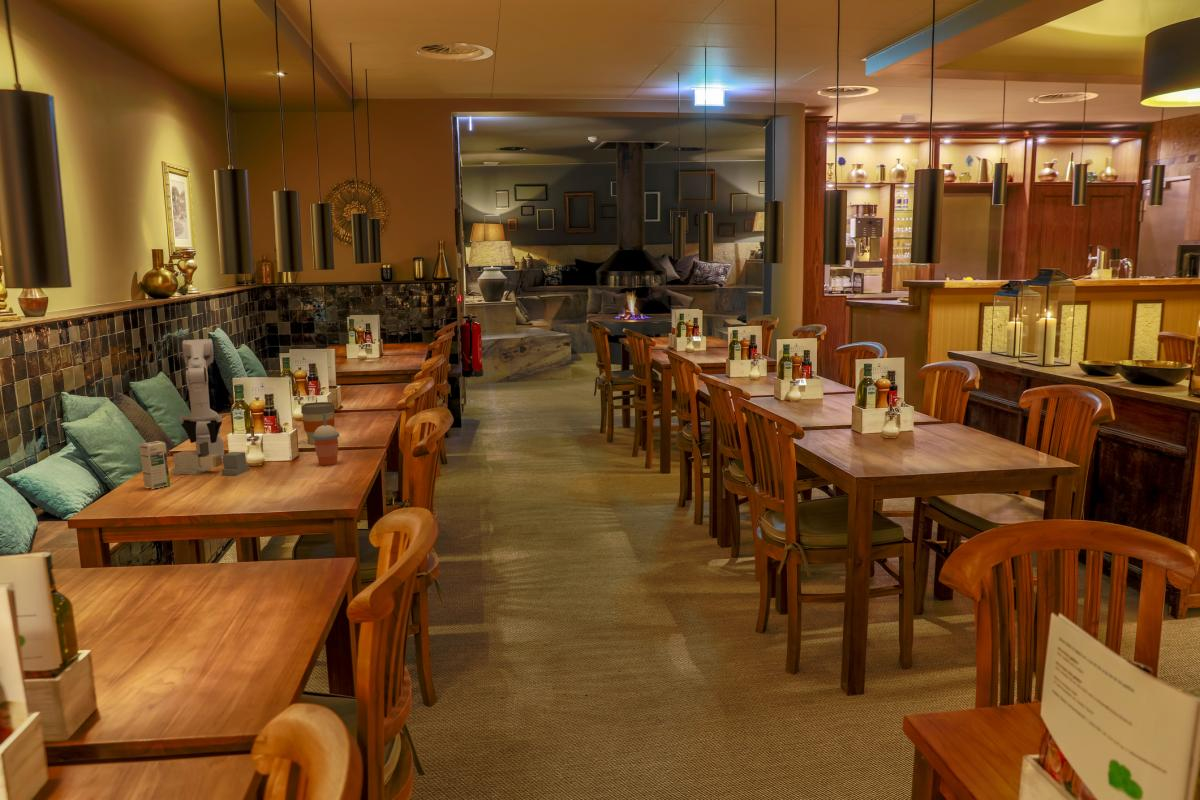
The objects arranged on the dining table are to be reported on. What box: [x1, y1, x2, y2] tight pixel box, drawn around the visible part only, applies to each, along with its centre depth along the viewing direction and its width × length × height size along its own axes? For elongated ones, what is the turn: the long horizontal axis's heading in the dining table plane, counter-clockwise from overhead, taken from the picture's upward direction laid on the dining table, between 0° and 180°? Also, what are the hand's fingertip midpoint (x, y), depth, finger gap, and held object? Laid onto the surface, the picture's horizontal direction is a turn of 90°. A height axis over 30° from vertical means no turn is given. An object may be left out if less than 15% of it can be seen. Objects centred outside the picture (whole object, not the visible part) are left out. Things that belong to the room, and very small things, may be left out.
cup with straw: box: [312, 413, 340, 467], centre depth 307 cm, size 9×9×18 cm
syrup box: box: [139, 440, 171, 489], centre depth 280 cm, size 6×6×14 cm
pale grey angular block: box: [199, 442, 223, 468], centre depth 299 cm, size 14×4×8 cm, turn 80°
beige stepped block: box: [171, 450, 212, 476], centre depth 300 cm, size 9×8×7 cm
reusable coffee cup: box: [300, 401, 336, 445], centre depth 344 cm, size 13×13×15 cm
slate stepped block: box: [221, 451, 250, 477], centre depth 297 cm, size 5×8×7 cm, turn 170°
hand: (203, 442), depth 298 cm, fingers open, 7 cm apart
